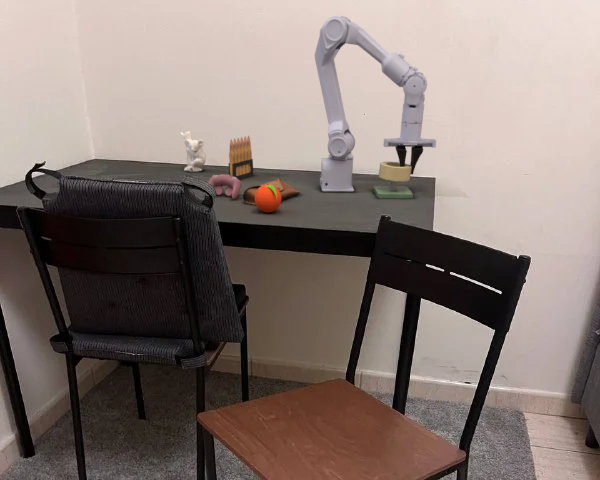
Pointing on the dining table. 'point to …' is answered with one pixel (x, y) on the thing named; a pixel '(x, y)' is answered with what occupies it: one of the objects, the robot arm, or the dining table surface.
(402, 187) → the peg stand
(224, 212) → the dining table surface
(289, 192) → the sunglasses case
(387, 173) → the masking tape roll
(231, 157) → the ammunition clip
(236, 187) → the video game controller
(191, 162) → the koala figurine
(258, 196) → the clementine
